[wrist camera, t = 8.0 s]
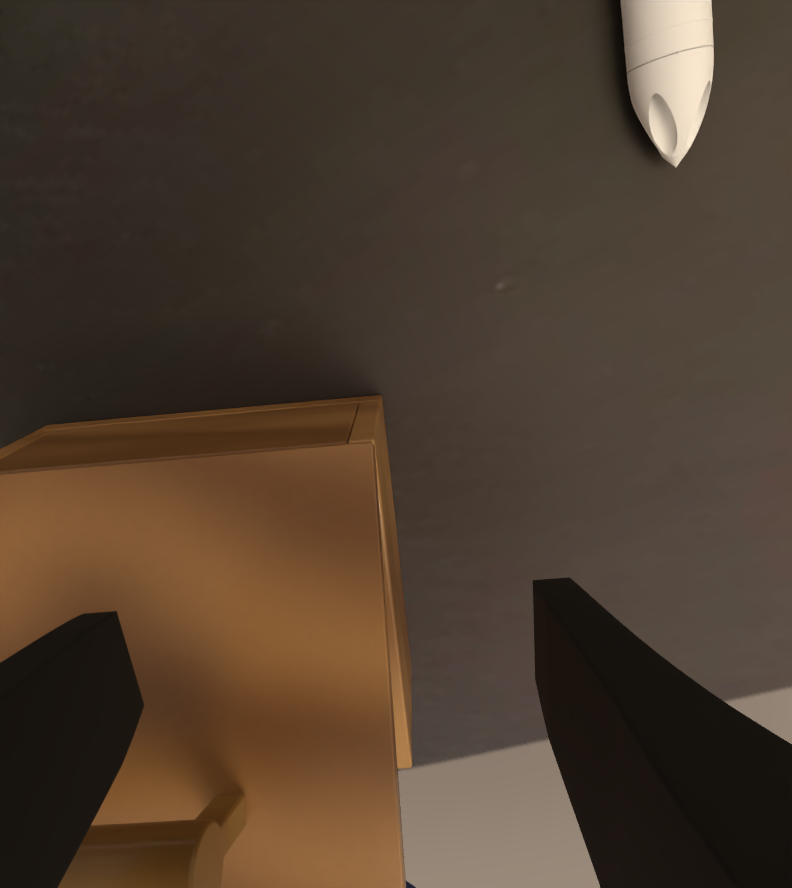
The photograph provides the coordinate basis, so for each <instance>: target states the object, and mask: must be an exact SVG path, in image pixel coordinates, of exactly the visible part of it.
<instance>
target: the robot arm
mask: <svg viewBox="0 0 792 888" xmlns="http://www.w3.org/2000/svg"><path fill="white" fill-rule="evenodd" d="M533 603H534V643H535V680H536V685H537V689H538V694H539V698H540V703H541V707H542V712H543V716H544V720H545V724H546V729H547V733H548V737H549V740H550V743H551V746H552V749H553V752H554V755H555V758H556V761H557V764H558V767H559V769H560V772H561V775H562V778H563V781H564V784H565V787H566V790H567V793H568V795H569V798H570V801H571V804H572V807H573V810H574V813H575V815H576V818H577V821H578V824H579V827H580V830H581V832H582V835H583V838H584V841H585V844H586V847H587V849H588V852H589V855H590V858H591V861H592V864H593V867H594V869H595V872H596V875H597V878H598V881H599V884H600V887H601V888H792V744H790V743H788V742H787V741H785V740H784V739H782V738H780V737H779V736H777V735H775V734H774V733H772V732H771V731H769V730H767V729H766V728H764V727H762V726H761V725H759V724H758V723H756V722H754V721H753V720H752V719H750V718H748V717H747V716H745V715H743V714H742V713H740V712H739V711H737V710H736V709H734V708H733V707H731V706H730V705H728V704H727V703H725V702H724V701H722V700H721V699H719V698H718V697H716V696H715V695H713V694H712V693H710V692H709V691H708V690H706V689H705V688H703V687H702V686H701V685H699V684H698V683H697V682H695V681H694V680H692V679H691V678H690V677H688V676H687V675H686V674H684V673H683V672H681V671H680V670H679V669H677V668H676V667H675V666H673V665H672V664H671V663H669V662H668V661H667V660H666V659H664V658H663V657H662V656H660V655H659V654H658V653H657V652H655V651H654V650H653V649H652V648H650V647H649V646H648V645H647V644H646V643H644V642H643V641H642V640H641V639H639V638H638V637H637V636H636V635H634V634H633V633H632V632H631V631H630V630H629V629H627V628H626V627H625V626H624V625H623V624H622V623H620V622H619V621H618V620H617V619H616V618H615V617H614V616H612V615H611V614H610V613H609V612H608V611H607V610H606V609H604V608H603V607H602V606H601V605H600V604H599V603H598V602H597V601H596V600H594V599H593V598H592V597H591V596H590V595H589V594H588V593H587V592H585V591H584V590H583V589H582V588H581V587H580V586H579V585H578V584H576V583H575V582H574V581H573V580H572V579H571V578H558V579H545V580H533ZM143 708H144V702H143V699H142V695H141V692H140V688H139V685H138V682H137V678H136V675H135V671H134V668H133V665H132V661H131V658H130V655H129V651H128V648H127V644H126V641H125V638H124V634H123V631H122V627H121V624H120V621H119V617H118V614H117V611H110V612H97V613H83V614H81V615H79V616H77V617H75V618H73V619H71V620H69V621H67V622H66V623H64V624H62V625H60V626H59V627H57V628H55V629H54V630H52V631H50V632H49V633H47V634H45V635H44V636H42V637H40V638H39V639H37V640H35V641H34V642H32V643H31V644H29V645H27V646H26V647H24V648H23V649H21V650H19V651H18V652H16V653H15V654H13V655H12V656H10V657H8V658H7V659H5V660H4V661H2V662H1V663H0V888H58V886H59V884H60V882H61V881H62V879H63V877H64V875H65V873H66V871H67V869H68V867H69V866H70V864H71V862H72V860H73V858H74V856H75V854H76V852H77V850H78V849H79V847H80V845H81V843H82V841H83V839H84V837H85V835H86V833H87V832H88V830H89V828H90V826H91V824H92V822H93V820H94V818H95V817H96V815H97V813H98V811H99V809H100V807H101V805H102V803H103V801H104V799H105V797H106V795H107V794H108V792H109V790H110V788H111V786H112V784H113V782H114V780H115V778H116V776H117V774H118V772H119V770H120V768H121V766H122V764H123V762H124V759H125V757H126V754H127V752H128V749H129V747H130V744H131V741H132V739H133V736H134V734H135V731H136V728H137V725H138V722H139V719H140V717H141V714H142V711H143Z"/></svg>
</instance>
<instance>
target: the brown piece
mask: <svg viewBox="0 0 792 888" xmlns="http://www.w3.org/2000/svg"><path fill="white" fill-rule="evenodd" d="M110 611H117V614H118V617H119V621H120V624H121V627H122V631H123V634H124V638H125V641H126V644H127V648H128V651H129V655H130V658H131V661H132V665H133V668H134V671H135V675H136V678H137V682H138V685H139V688H140V692H141V695H142V699H143V702H144V708H143V711H142V714H141V717H140V719H139V722H138V725H137V728H136V731H135V734H134V736H133V739H132V741H131V744H130V747H129V749H128V752H127V754H126V757H125V759H124V762H123V764H122V766H121V768H120V770H119V772H118V774H117V776H116V778H115V780H114V782H113V784H112V786H111V788H110V790H109V792H108V794H107V795H106V797H105V799H104V801H103V803H102V805H101V807H100V809H99V811H98V813H97V815H96V817H95V818H94V820H93V822H92V824H91V826H90V828H89V830H88V832H87V833H86V835H85V837H84V839H83V841H82V843H81V845H80V847H79V849H78V850H77V852H76V854H75V856H74V858H73V860H72V862H71V864H70V866H69V867H68V869H67V871H66V873H65V875H64V877H63V879H62V881H61V882H60V884H59V886H58V888H406V881H405V868H404V853H403V840H402V825H401V810H400V797H399V782H398V768H397V754H396V740H395V725H394V711H393V697H392V683H391V669H390V655H389V641H388V627H387V613H386V598H385V584H384V570H383V556H382V542H381V528H380V514H379V500H378V485H377V471H376V457H375V447H374V445H373V443H372V442H363V443H351V444H340V445H328V446H317V447H305V448H294V449H282V450H271V451H259V452H248V453H236V454H225V455H213V456H201V457H190V458H178V459H167V460H155V461H144V462H132V463H121V464H109V465H98V466H86V467H75V468H63V469H52V470H40V471H29V472H17V473H6V474H0V663H1V662H2V661H4V660H5V659H7V658H8V657H10V656H12V655H13V654H15V653H16V652H18V651H19V650H21V649H23V648H24V647H26V646H27V645H29V644H31V643H32V642H34V641H35V640H37V639H39V638H40V637H42V636H44V635H45V634H47V633H49V632H50V631H52V630H54V629H55V628H57V627H59V626H60V625H62V624H64V623H66V622H67V621H69V620H71V619H73V618H75V617H77V616H79V615H81V614H83V613H97V612H110Z"/></svg>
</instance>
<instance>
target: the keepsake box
mask: <svg viewBox="0 0 792 888" xmlns="http://www.w3.org/2000/svg"><path fill="white" fill-rule="evenodd" d="M363 442H372V443H373V445H374V447H375V457H376V471H377V485H378V500H379V514H380V528H381V542H382V556H383V570H384V584H385V598H386V613H387V627H388V641H389V655H390V669H391V683H392V697H393V711H394V725H395V740H396V754H397V768H398V769H401V768H411V766H412V704H411V660H410V651H409V642H408V632H407V623H406V614H405V605H404V595H403V586H402V577H401V567H400V558H399V549H398V540H397V530H396V521H395V512H394V503H393V493H392V484H391V475H390V466H389V456H388V447H387V438H386V428H385V419H384V410H383V401H382V396H381V395H373V396H362V397H351V398H340V399H329V400H318V401H307V402H296V403H285V404H274V405H263V406H252V407H241V408H230V409H219V410H208V411H197V412H186V413H175V414H164V415H153V416H142V417H131V418H120V419H109V420H98V421H86V422H75V423H64V424H53V425H47V426H45V427H43V428H41V429H39V430H37V431H35V432H33V433H31V434H29V435H27V436H25V437H23V438H21V439H19V440H17V441H15V442H13V443H11V444H10V445H8V446H6V447H4V448H2V449H0V474H6V473H17V472H29V471H40V470H52V469H63V468H75V467H86V466H98V465H109V464H121V463H132V462H144V461H155V460H167V459H178V458H190V457H201V456H213V455H225V454H236V453H248V452H259V451H271V450H282V449H294V448H305V447H317V446H328V445H340V444H351V443H363Z"/></svg>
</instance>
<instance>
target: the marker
mask: <svg viewBox="0 0 792 888" xmlns="http://www.w3.org/2000/svg"><path fill="white" fill-rule="evenodd" d="M620 1H621V12H622V24H623V35H624V52H625V59H626V71H627V80H628V88H629V93H630V98H631V102H632V106H633V108H634V110H635V112H636V115H637V117H638V119H639V120H640V122H641V124H642V126H643V128H644V129H645V131H646V132H647V134H648V136H649V137H650V139H651V140H652V142H653V143H654V145H655V146H656V148H657V149H658V151H659V153H660V154H661V156H662V157H663V158H665V160H666V161H668V162H669V163H670V164H672V165H673V166H674V167H677V166H678V164H679V163H680V161H681V160H682V159H683V157H684V156H685V155H686V153H687V152H688V150H689V148H690V147H691V145H692V143H693V141H694V139H695V137H696V135H697V132H698V130H699V128H700V125H701V123H702V120H703V117H704V114H705V111H706V108H707V104H708V100H709V95H710V90H711V85H712V77H713V63H714V48H713V25H712V23H713V18H712V4H711V0H620ZM677 52H679V53H677ZM674 53H676V54H674ZM670 54H672V55H670ZM667 55H669V56H667ZM664 56H666V57H664ZM661 57H663V58H661ZM659 58H660V59H659ZM656 59H657V60H656ZM653 60H655V61H653ZM651 61H652V62H651ZM648 62H650V63H648ZM646 63H647V64H646ZM644 64H645V65H644ZM641 65H643V66H641ZM639 66H640V67H639ZM637 67H638V68H637ZM635 68H636V69H635Z"/></svg>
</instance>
